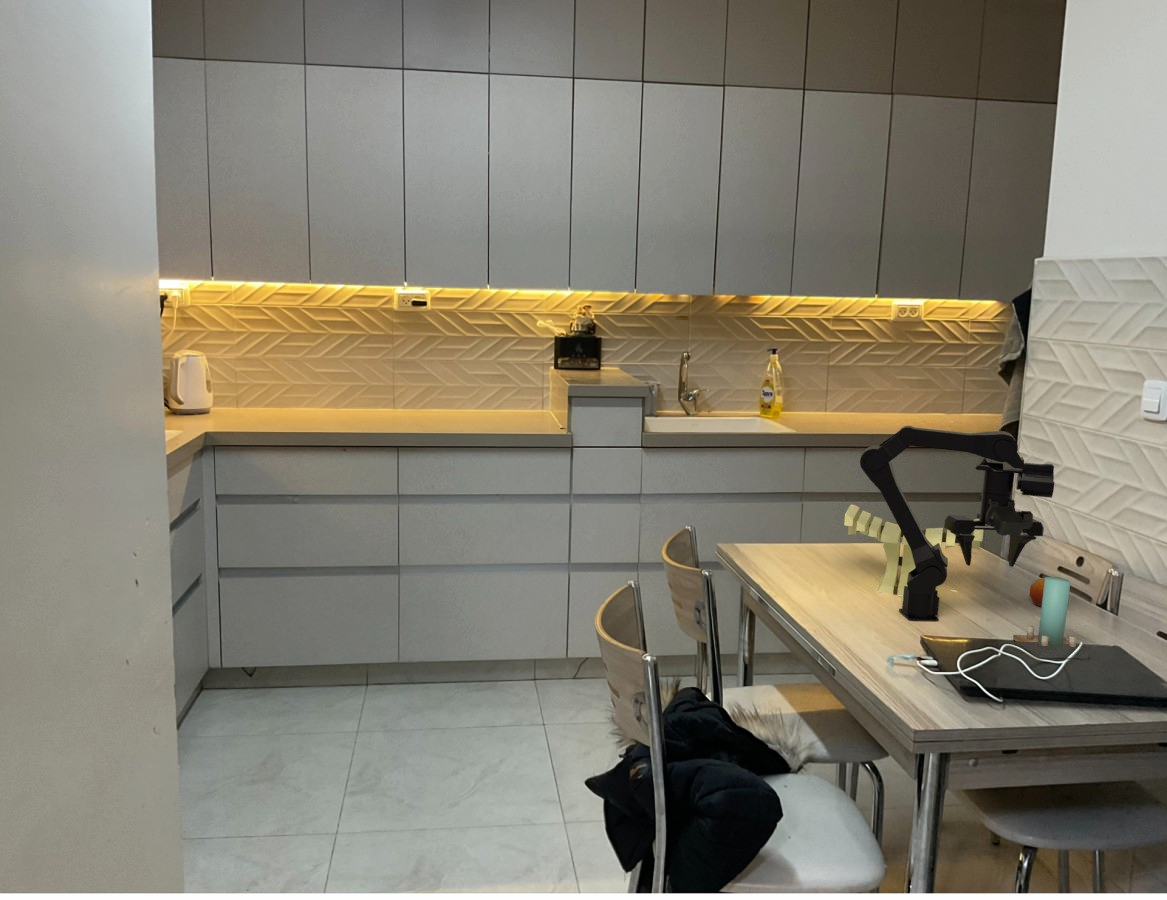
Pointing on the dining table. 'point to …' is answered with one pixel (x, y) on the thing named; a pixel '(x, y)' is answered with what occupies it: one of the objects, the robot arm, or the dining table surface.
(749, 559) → the dining table surface
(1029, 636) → the base
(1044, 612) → the post
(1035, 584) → the fruit
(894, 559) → the slatted curved stool
